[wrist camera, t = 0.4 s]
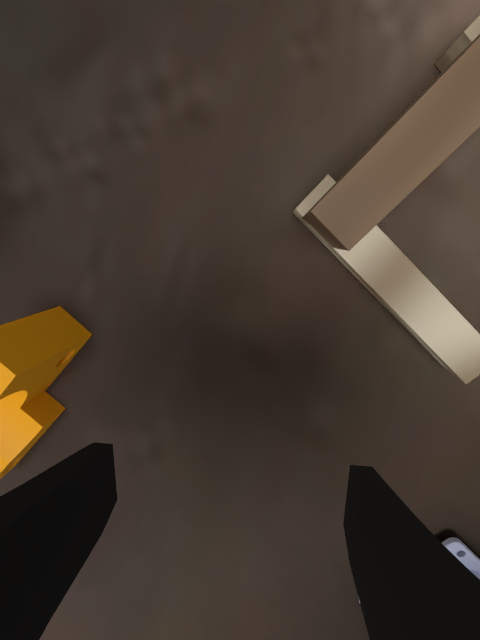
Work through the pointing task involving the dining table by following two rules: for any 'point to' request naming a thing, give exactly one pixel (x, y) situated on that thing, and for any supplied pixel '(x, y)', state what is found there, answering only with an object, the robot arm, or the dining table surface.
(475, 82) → the can dock
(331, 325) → the dining table surface
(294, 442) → the dining table surface
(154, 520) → the dining table surface
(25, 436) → the pipe clamp
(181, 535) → the dining table surface
